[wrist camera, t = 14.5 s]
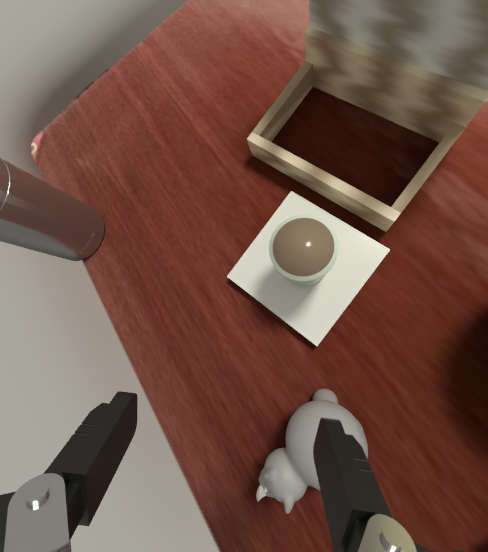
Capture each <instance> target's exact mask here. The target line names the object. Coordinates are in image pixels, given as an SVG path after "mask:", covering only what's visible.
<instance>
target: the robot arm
mask: <svg viewBox="0 0 488 552" xmlns="http://www.w3.org/2000/svg"><path fill="white" fill-rule="evenodd" d="M103 235H104V220H103V218H102V216H101V214H100V213H99V212H98V211H97V210H96V209H95V208H93V207H91V206H89V205H87V204H85V203H83V202H81V201H80V200H78V199H76V198H74V197H72V196H70V195H69V194H67V193H65V192H63V191H61V190H59V189H57V188H56V187H54V186H52V185H50V184H48V183H46V182H44V181H43V180H41V179H39V178H37V177H35V176H33V175H31V174H29V173H28V172H26V171H24V170H22V169H20V168H18V167H16V166H15V165H12V164H11V163H9V162H7V161H5V160H3V159H1V158H0V241H2V242H5V243H9V244H13V245H17V246H21V247H24V248H28V249H31V250H35V251H39V252H42V253H47V254H50V255H53V256H57V257H61V258H65V259H69V260H73V261H79V260H83V259H85V258H87V257H89V256H90V255H92V254H93V253H94V252H95V251H96V250H97V248H98V247H99V245H100V243H101V241H102V239H103ZM136 426H137V394H136V393H127V392H118V393H116V395H115V396H114V398H113V399H112V401H111V402H110V404H107V403H102V404H100V405H99V406H97V407H96V408H95V409H93V410H92V411H91V412H90V413H89V414H88V416H87V417H86V418H85V420H84V421H83V422H82V425H80V426H79V427H78V429H77V430H76V431H75V434H73V435H72V437H71V438H70V440H69V441H68V442H67V444H66V445H65V446H64V448H63V449H62V450H61V452H60V453H59V454H58V455H57V457H56V458H55V459H54V461H53V462H52V463H51V465H50V466H49V468H48V469H47V470H46V471H45V472H44V474H42V475H39V476H37V477H35V478H33V479H31V480H29V481H28V482H26V483H25V484H24V485H22V486H21V487H20V488H19V489H18V490H17V491H16V492H12V493H8V494H3V495H0V552H71V543H70V539H71V537H72V535H73V534H74V531H75V530H76V528H77V526H78V525H84V526H89V525H90V523H91V521H92V519H93V516H94V515H95V513H96V511H97V509H98V507H99V505H100V503H101V501H102V499H103V497H104V495H105V493H106V491H107V489H108V486H109V484H110V483H111V481H112V478H113V477H114V474H115V473H116V471H117V469H118V466H119V464H120V462H121V460H122V458H123V456H124V454H125V452H126V450H127V448H128V446H129V444H130V442H131V440H132V438H133V436H134V433H135V430H136ZM313 458H314V464H315V468H316V473H317V477H318V481H319V486H320V490H321V495H322V499H323V504H324V508H325V513H326V517H327V522H328V526H329V531H330V535H331V540H332V544H333V548H334V552H432V551H430V550H428V549H426V548H424V547H422V546H420V545H418V544H417V543H415V542H414V541H413V540H412V538H411V537H410V535H409V534H408V532H407V531H406V530H405V529H404V528H403V527H402V526H401V525H400V524H399V523H398V522H397V521H395V520H394V519H393V518H392V516H391V513H390V511H389V509H388V506H387V504H386V502H385V499H384V497H383V495H382V492H381V490H380V488H379V485H378V483H377V481H376V478H375V476H374V474H373V473H372V469H371V467H370V464H369V462H368V461H367V457H366V455H365V453H364V450H363V448H362V446H361V445H360V444H359V442H358V441H357V440H356V439H355V438H354V436H353V435H349V434H345V431H344V429H343V426H342V424H341V421H340V420H338V419H330V418H321V419H320V421H319V425H318V429H317V433H316V437H315V441H314V446H313ZM453 552H463V551H453Z"/></svg>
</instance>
